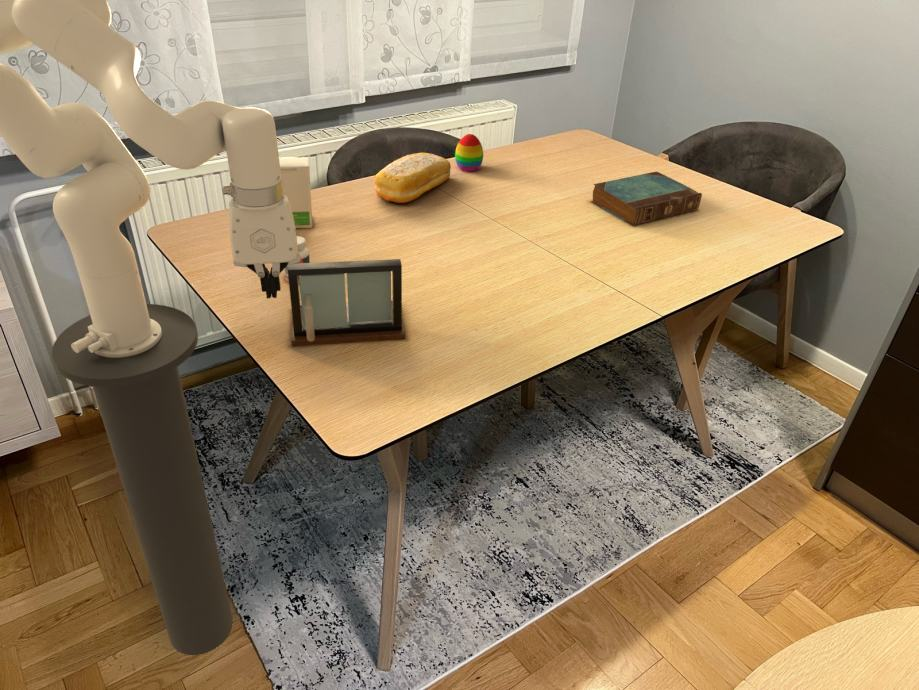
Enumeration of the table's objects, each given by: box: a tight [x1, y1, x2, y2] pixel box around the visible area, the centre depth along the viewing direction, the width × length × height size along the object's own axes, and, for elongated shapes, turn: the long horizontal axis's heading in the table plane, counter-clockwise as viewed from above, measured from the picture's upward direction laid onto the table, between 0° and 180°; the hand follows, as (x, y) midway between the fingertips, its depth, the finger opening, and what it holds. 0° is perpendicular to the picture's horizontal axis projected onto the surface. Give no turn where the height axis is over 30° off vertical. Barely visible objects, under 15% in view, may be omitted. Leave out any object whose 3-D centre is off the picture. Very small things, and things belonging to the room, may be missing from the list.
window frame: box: [288, 258, 406, 347], centre depth 137 cm, size 12×21×15 cm, turn 100°
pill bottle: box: [284, 235, 311, 284], centre depth 153 cm, size 5×5×9 cm
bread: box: [374, 152, 452, 204], centre depth 196 cm, size 13×26×8 cm, turn 154°
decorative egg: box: [454, 133, 484, 172], centre depth 210 cm, size 8×8×10 cm
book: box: [590, 171, 703, 227], centre depth 194 cm, size 23×18×5 cm
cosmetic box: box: [279, 156, 313, 229], centre depth 173 cm, size 8×7×16 cm
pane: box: [298, 273, 347, 341], centre depth 130 cm, size 7×8×11 cm
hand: (272, 294), depth 123 cm, fingers closed
